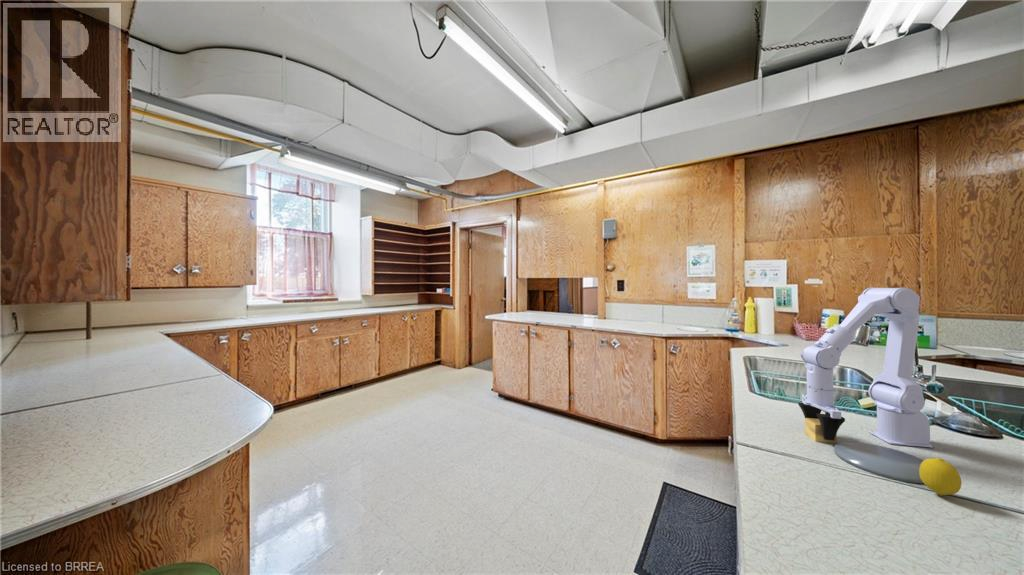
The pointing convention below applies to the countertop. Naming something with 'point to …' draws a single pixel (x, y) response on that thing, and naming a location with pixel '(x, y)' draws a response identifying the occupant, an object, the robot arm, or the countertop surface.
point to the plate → (880, 461)
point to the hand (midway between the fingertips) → (820, 433)
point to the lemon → (940, 476)
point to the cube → (816, 431)
